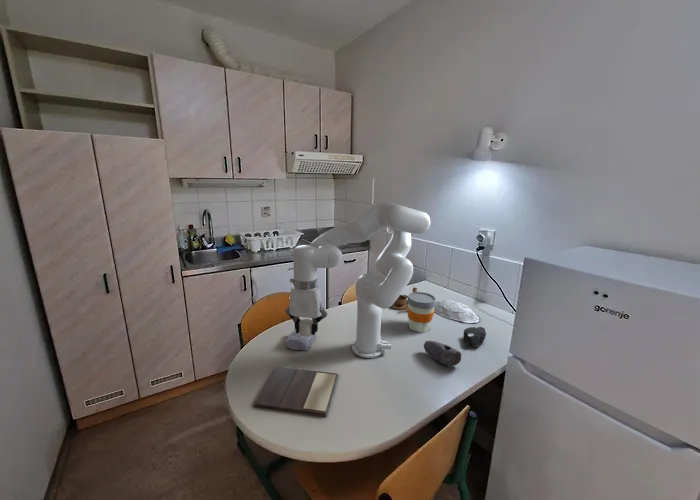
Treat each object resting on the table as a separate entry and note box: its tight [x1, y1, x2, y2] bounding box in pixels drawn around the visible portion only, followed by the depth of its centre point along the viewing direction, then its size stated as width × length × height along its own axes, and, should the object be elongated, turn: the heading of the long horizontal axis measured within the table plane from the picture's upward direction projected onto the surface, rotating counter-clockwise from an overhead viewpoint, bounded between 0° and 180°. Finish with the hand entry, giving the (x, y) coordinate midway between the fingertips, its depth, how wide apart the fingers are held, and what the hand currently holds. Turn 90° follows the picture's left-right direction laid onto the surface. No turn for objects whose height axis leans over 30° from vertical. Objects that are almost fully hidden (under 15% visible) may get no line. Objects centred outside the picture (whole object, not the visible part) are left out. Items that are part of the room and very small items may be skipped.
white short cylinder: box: [299, 318, 313, 337], centre depth 102 cm, size 5×5×4 cm
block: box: [285, 329, 316, 351], centre depth 123 cm, size 12×5×10 cm
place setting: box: [390, 287, 418, 314], centre depth 160 cm, size 18×20×6 cm
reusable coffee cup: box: [406, 291, 436, 333], centre depth 136 cm, size 13×13×15 cm
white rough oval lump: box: [434, 299, 480, 324], centre depth 152 cm, size 16×25×7 cm, turn 45°
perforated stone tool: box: [423, 340, 462, 368], centre depth 113 cm, size 15×5×7 cm, turn 40°
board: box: [254, 365, 338, 417], centre depth 97 cm, size 22×18×1 cm
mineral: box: [463, 326, 487, 348], centre depth 126 cm, size 10×9×6 cm
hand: (306, 331), depth 103 cm, fingers closed on white short cylinder, 5 cm apart
